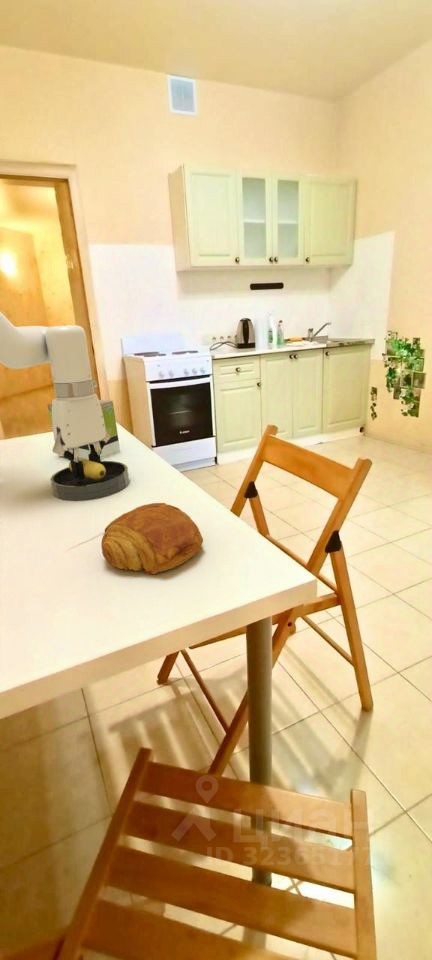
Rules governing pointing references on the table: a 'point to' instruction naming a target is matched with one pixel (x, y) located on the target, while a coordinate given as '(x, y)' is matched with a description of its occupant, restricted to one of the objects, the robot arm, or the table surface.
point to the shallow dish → (90, 483)
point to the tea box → (110, 425)
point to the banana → (92, 469)
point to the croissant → (151, 539)
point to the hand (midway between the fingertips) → (87, 474)
